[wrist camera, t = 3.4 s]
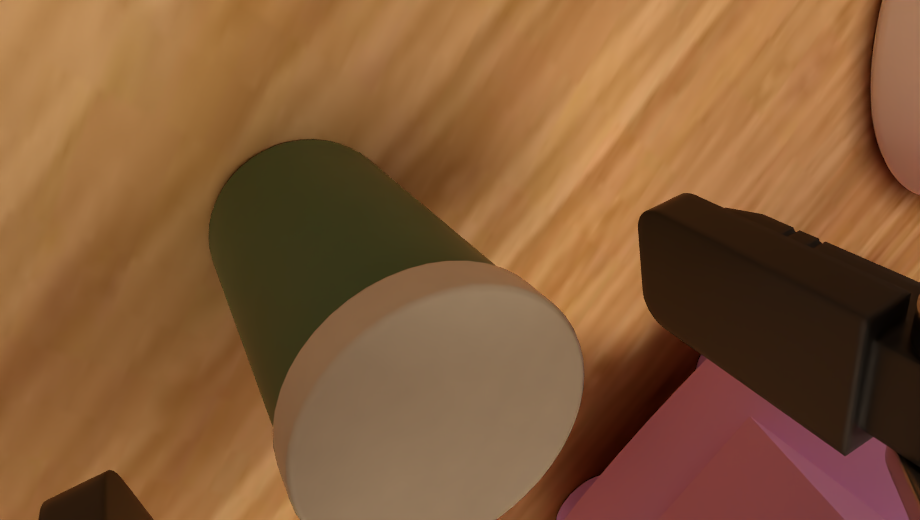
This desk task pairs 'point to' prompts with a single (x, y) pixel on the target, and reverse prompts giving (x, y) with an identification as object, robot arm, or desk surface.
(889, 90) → the lotus flower trinket box
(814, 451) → the teapot
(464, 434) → the tube
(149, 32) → the desk surface
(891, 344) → the robot arm
